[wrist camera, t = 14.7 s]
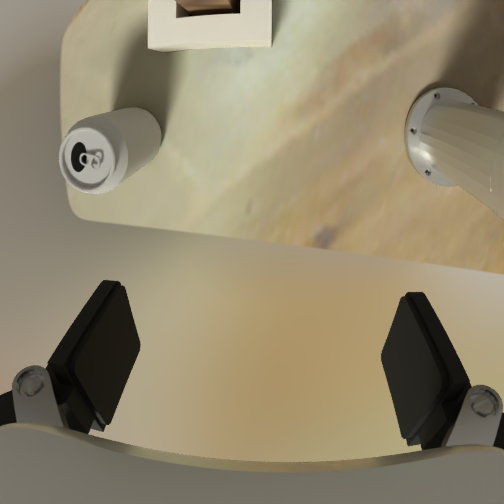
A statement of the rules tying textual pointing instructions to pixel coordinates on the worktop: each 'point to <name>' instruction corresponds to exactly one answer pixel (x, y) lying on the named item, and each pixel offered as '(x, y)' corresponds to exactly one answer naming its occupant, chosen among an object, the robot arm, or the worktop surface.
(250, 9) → the socket block
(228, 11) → the peg
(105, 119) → the can
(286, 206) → the worktop surface
